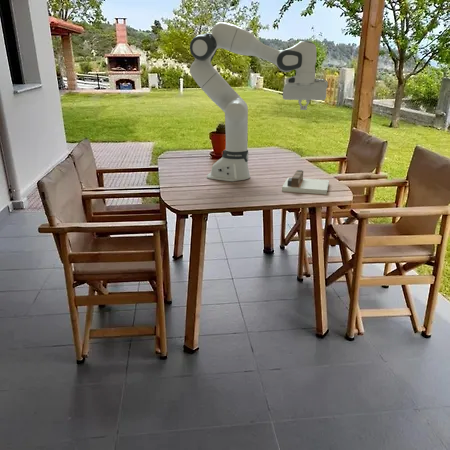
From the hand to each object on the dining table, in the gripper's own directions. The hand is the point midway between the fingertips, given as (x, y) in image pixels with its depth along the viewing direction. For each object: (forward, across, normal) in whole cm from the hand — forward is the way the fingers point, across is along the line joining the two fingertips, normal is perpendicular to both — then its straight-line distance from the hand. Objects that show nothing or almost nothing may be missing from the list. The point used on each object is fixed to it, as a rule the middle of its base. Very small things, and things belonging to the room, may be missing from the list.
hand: (303, 109), depth 195 cm
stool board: (+34, -5, +15) cm, 38 cm away
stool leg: (+32, -1, +15) cm, 35 cm away
